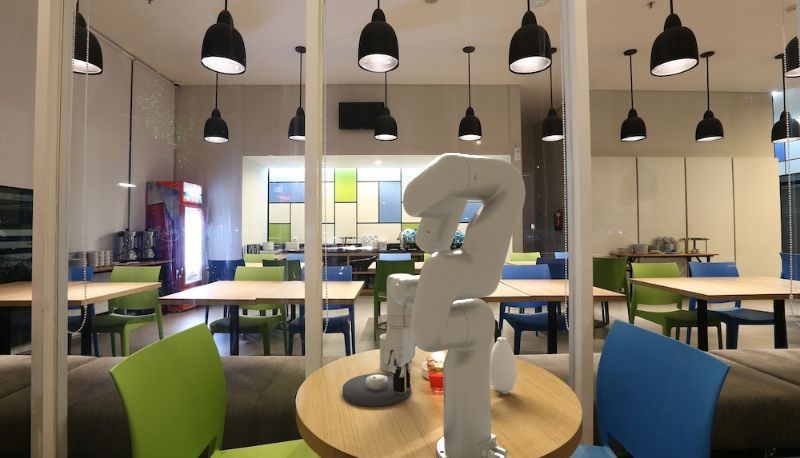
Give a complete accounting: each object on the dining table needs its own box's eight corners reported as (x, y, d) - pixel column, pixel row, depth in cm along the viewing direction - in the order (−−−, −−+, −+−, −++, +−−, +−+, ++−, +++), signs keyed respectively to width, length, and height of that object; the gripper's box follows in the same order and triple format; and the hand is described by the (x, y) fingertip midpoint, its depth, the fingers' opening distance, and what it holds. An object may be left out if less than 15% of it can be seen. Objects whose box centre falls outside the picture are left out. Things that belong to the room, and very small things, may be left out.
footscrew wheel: (401, 375, 115) (401, 347, 115) (419, 401, 96) (419, 369, 96) (339, 382, 110) (339, 353, 110) (346, 411, 91) (346, 376, 92)
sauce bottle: (517, 400, 99) (516, 333, 100) (487, 396, 102) (486, 331, 102) (517, 389, 107) (516, 326, 107) (489, 385, 109) (489, 324, 110)
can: (375, 368, 124) (375, 333, 124) (400, 364, 128) (400, 329, 128) (386, 378, 116) (385, 339, 116) (412, 373, 120) (412, 336, 120)
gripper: (401, 313, 108) (402, 376, 108) (373, 325, 94) (374, 398, 93) (425, 315, 105) (426, 380, 105) (400, 328, 91) (400, 404, 90)
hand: (401, 388), depth 99 cm, fingers closed on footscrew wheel, 2 cm apart
